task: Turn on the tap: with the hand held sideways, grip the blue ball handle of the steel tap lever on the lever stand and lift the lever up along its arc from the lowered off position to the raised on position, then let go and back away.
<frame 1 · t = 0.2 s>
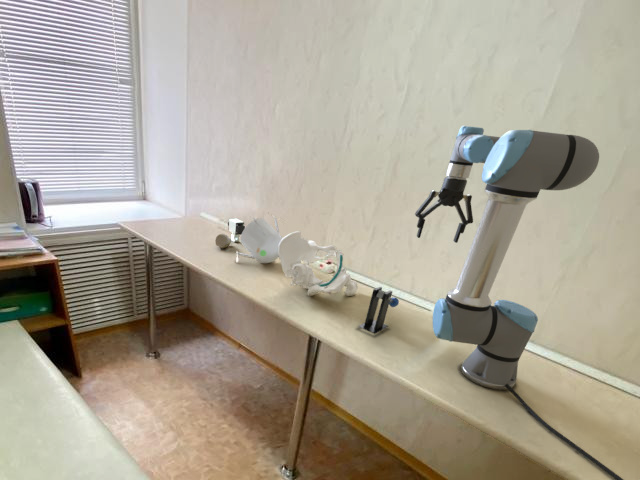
hand: (436, 239, 155), 28 cm above the table, tool pointing down, fingers open, 13 cm apart
lever stand: (372, 329, 149), on the table
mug: (223, 246, 218), on the table
pelvis: (314, 290, 176), on the table
tap lever: (388, 298, 148), point 10 cm above the table, hinge at -25.0°
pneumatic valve: (235, 241, 229), on the table
satellite: (261, 261, 204), on the table
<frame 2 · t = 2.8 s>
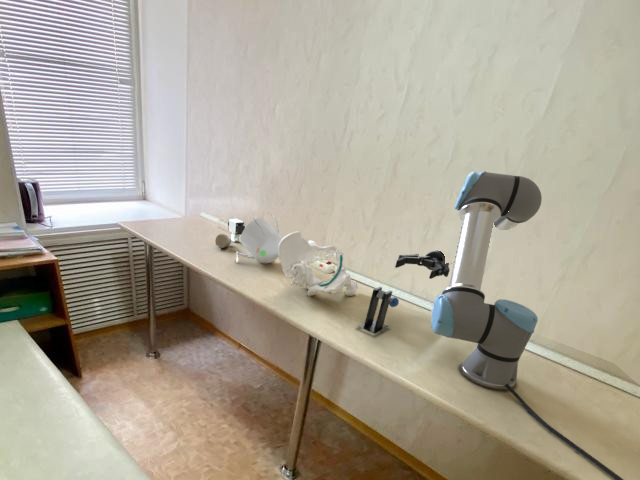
hand: (413, 269, 153), 18 cm above the table, tool horizontal, fingers open, 13 cm apart
nothing on the table moved.
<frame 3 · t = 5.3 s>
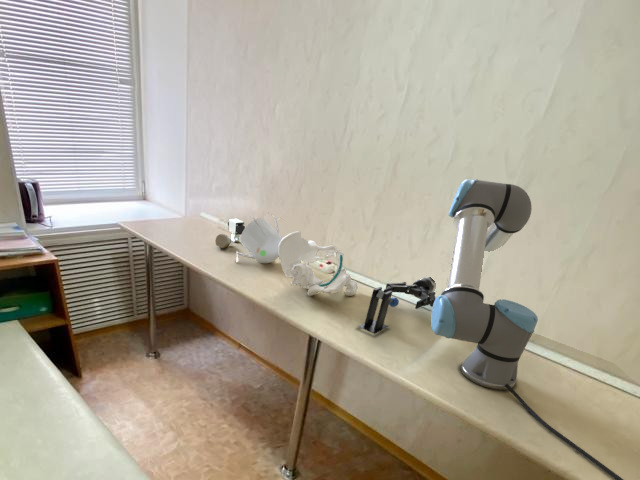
hand: (400, 299, 156), 7 cm above the table, tool horizontal, fingers open, 13 cm apart
nothing on the table moved.
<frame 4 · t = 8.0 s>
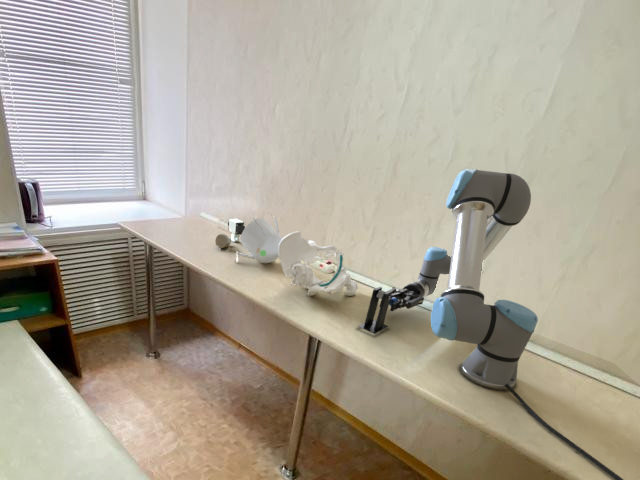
hand: (386, 305, 149), 8 cm above the table, tool horizontal, fingers closed on tap lever, 4 cm apart
tap lever: (388, 298, 148), point 10 cm above the table, hinge at -25.0°, touching gripper
everything else where it was.
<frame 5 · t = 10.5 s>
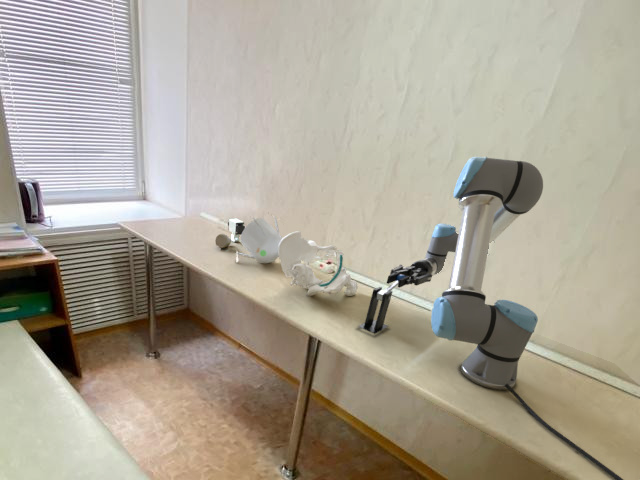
hand: (394, 281, 145), 16 cm above the table, tool horizontal, fingers closed on tap lever, 4 cm apart
tap lever: (391, 287, 146), point 15 cm above the table, hinge at 13.4°, touching gripper
everything else where it was.
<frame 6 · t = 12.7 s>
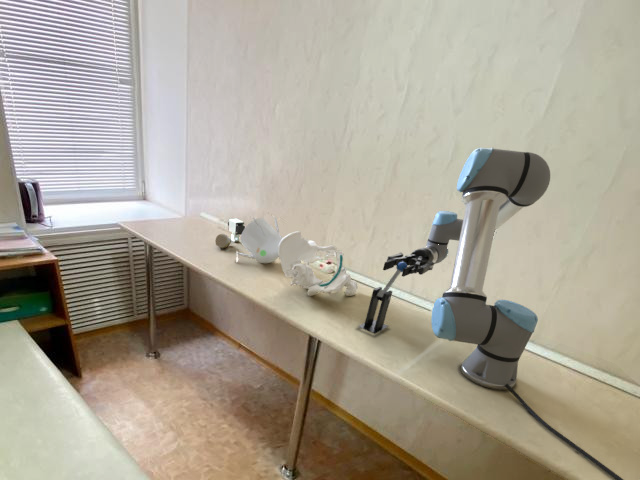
hand: (394, 269, 140), 21 cm above the table, tool horizontal, fingers open, 6 cm apart
tap lever: (392, 280, 143), point 17 cm above the table, hinge at 38.9°
everything else where it was.
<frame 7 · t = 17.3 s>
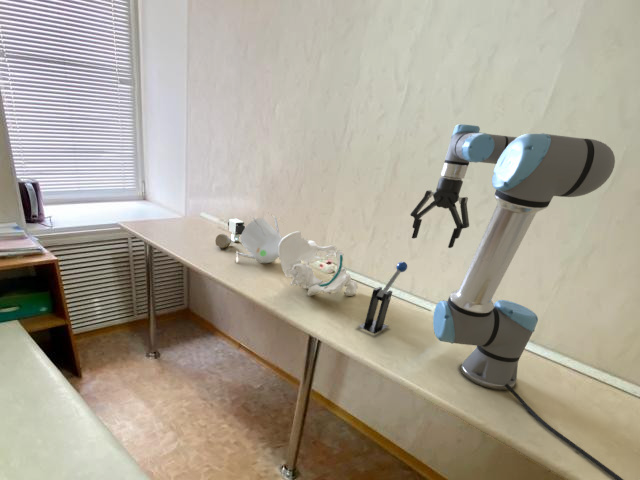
hand: (431, 242, 149), 28 cm above the table, tool pointing down, fingers open, 13 cm apart
nothing on the table moved.
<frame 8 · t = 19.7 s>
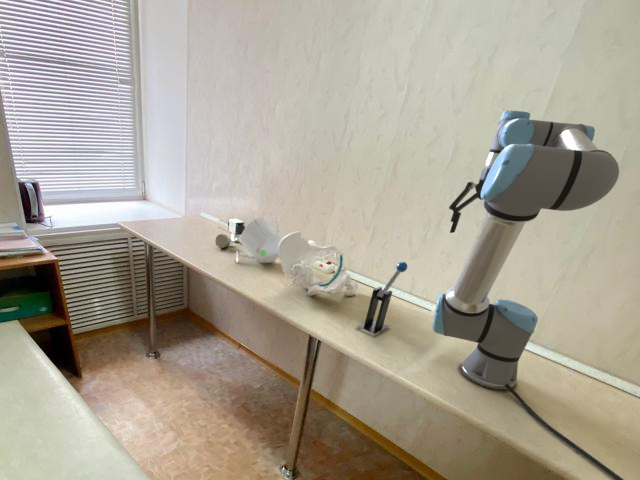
hand: (471, 237, 141), 33 cm above the table, tool pointing down, fingers open, 13 cm apart
nothing on the table moved.
at the end: tap lever at +39° (first picture: -25°); tap lever reached +40° during the clip, +39° at the end; the gripper is holding nothing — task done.
